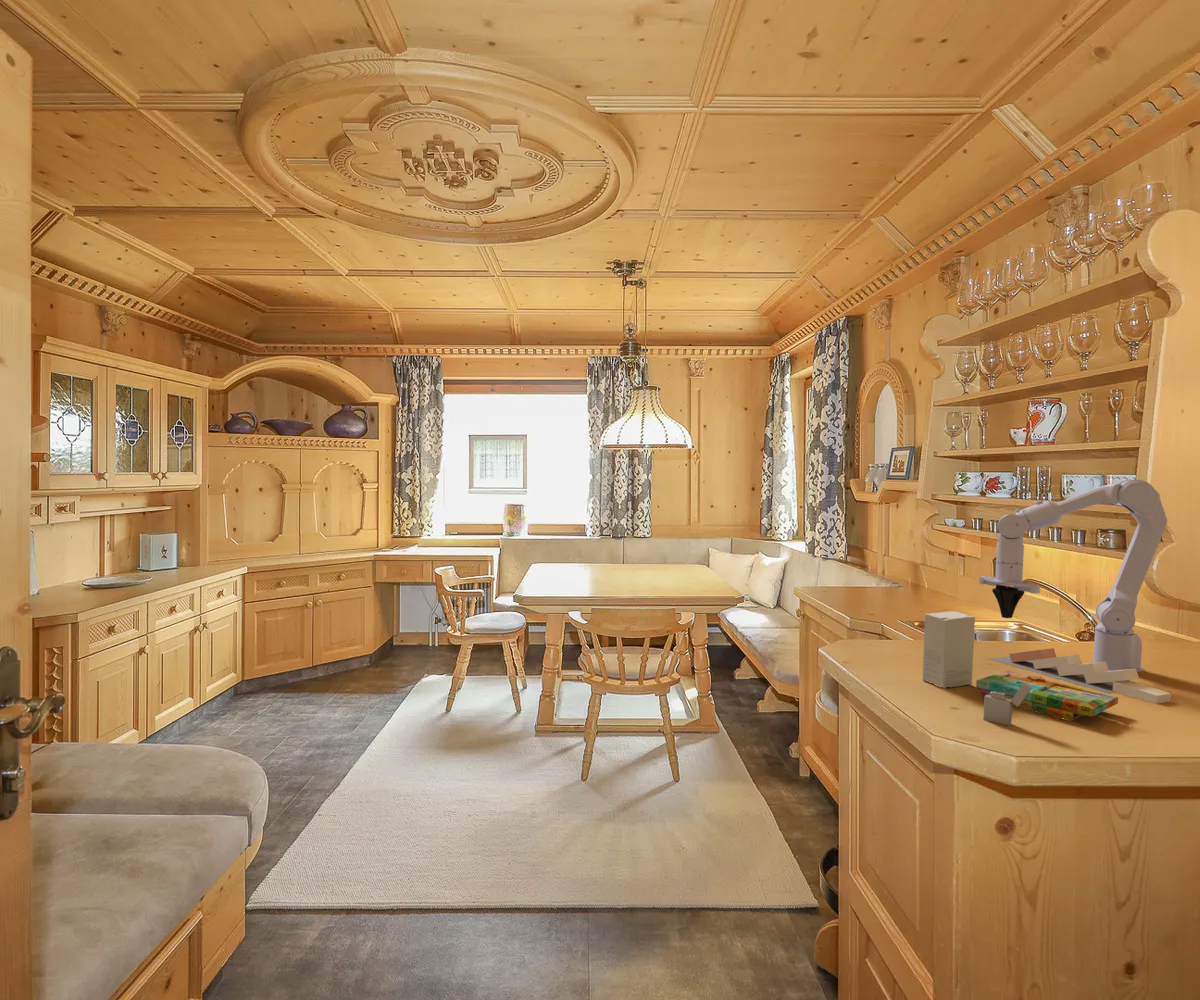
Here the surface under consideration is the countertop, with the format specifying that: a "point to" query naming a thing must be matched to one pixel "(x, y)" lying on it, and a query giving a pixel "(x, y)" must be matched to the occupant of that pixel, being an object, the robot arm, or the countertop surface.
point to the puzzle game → (1048, 695)
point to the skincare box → (948, 649)
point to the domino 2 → (1056, 661)
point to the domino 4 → (1111, 676)
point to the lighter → (1003, 705)
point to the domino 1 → (1032, 655)
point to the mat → (1053, 672)
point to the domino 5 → (1141, 691)
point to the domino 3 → (1082, 668)
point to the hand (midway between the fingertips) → (1006, 617)
